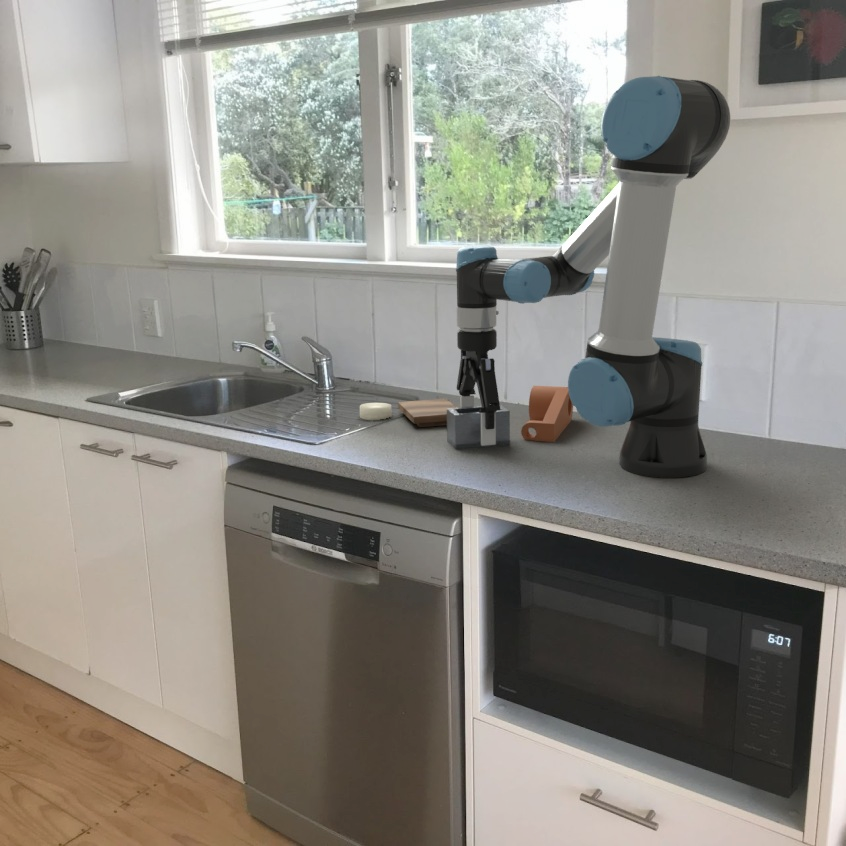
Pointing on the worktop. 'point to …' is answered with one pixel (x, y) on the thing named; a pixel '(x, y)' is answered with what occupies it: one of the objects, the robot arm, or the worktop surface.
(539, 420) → the crank
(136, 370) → the worktop surface
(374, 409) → the cream round puck
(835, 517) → the worktop surface
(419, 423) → the stand
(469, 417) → the housing
